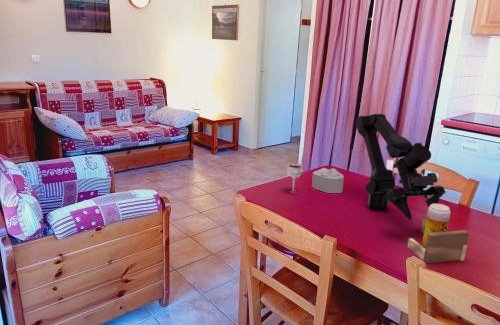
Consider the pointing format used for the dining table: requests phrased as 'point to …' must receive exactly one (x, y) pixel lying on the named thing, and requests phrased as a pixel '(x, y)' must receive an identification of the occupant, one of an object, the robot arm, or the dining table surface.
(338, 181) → the grey lumpy block
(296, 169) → the wineglass
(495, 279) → the dining table surface
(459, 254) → the shelf
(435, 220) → the beer can
